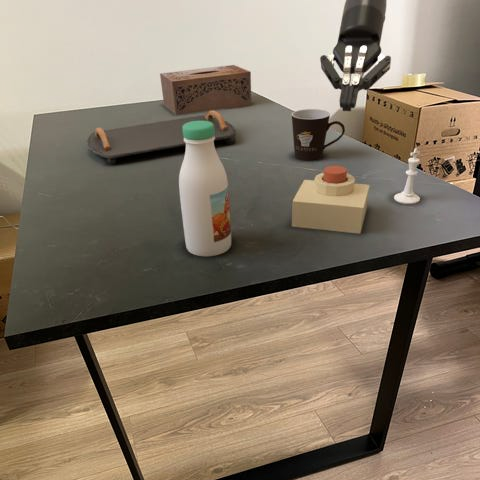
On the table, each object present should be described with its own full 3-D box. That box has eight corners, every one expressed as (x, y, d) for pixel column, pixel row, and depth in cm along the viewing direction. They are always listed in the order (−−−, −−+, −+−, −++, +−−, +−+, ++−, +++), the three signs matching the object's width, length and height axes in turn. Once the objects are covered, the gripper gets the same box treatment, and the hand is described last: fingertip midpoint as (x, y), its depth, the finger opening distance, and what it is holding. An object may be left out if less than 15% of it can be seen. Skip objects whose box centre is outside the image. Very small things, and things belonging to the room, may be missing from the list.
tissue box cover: (235, 96, 165) (233, 64, 159) (251, 105, 154) (250, 71, 148) (164, 106, 158) (159, 73, 152) (176, 116, 147) (171, 81, 141)
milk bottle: (199, 263, 75) (186, 135, 63) (178, 244, 81) (162, 123, 68) (240, 249, 78) (234, 124, 66) (217, 232, 84) (208, 113, 71)
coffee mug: (282, 158, 113) (283, 114, 107) (306, 149, 117) (308, 107, 111) (320, 170, 106) (323, 123, 100) (344, 160, 110) (348, 115, 104)
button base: (366, 210, 88) (371, 174, 84) (360, 235, 81) (365, 197, 76) (303, 204, 92) (305, 169, 87) (291, 228, 84) (292, 190, 80)
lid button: (347, 177, 84) (348, 166, 83) (344, 186, 81) (345, 174, 80) (325, 175, 85) (326, 164, 84) (321, 184, 82) (322, 172, 81)
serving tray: (214, 123, 139) (213, 101, 135) (247, 144, 122) (246, 119, 119) (82, 144, 128) (77, 120, 124) (98, 171, 111) (92, 144, 107)
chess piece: (388, 198, 92) (396, 146, 86) (409, 194, 93) (419, 143, 87) (402, 208, 89) (412, 154, 82) (425, 203, 90) (436, 151, 84)
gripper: (324, 3, 83) (307, 94, 81) (402, 2, 79) (386, 97, 78) (327, 34, 90) (311, 118, 89) (399, 34, 87) (384, 122, 85)
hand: (346, 108), depth 83 cm, fingers closed
